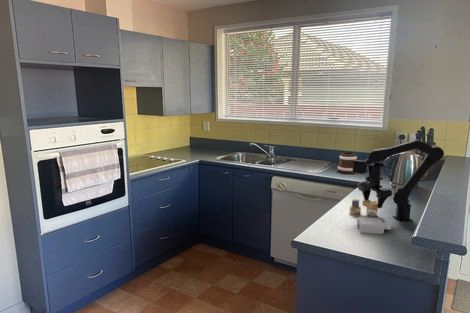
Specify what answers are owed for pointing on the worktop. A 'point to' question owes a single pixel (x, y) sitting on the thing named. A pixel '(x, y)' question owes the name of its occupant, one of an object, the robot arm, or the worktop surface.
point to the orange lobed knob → (372, 210)
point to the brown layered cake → (346, 163)
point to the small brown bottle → (355, 207)
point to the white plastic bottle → (372, 225)
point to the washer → (371, 204)
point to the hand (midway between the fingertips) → (372, 205)
